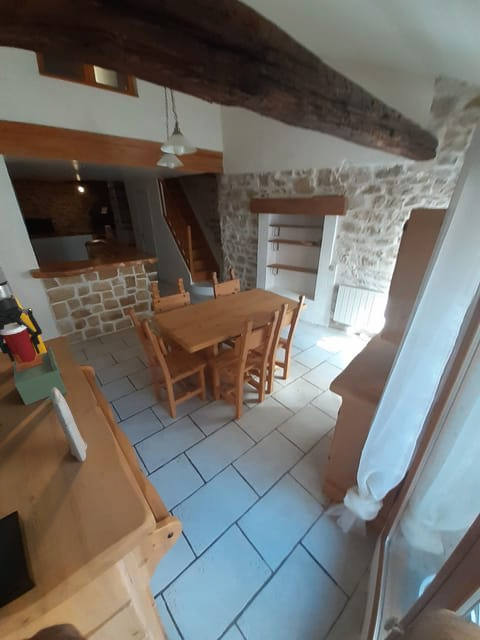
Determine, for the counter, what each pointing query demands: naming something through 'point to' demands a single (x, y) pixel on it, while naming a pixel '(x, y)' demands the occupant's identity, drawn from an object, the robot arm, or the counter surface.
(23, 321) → the robot arm
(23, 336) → the paper cup
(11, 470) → the counter surface
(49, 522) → the counter surface
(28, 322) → the yellow bottle
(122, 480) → the counter surface
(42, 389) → the sage green crate
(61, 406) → the tall pale column
